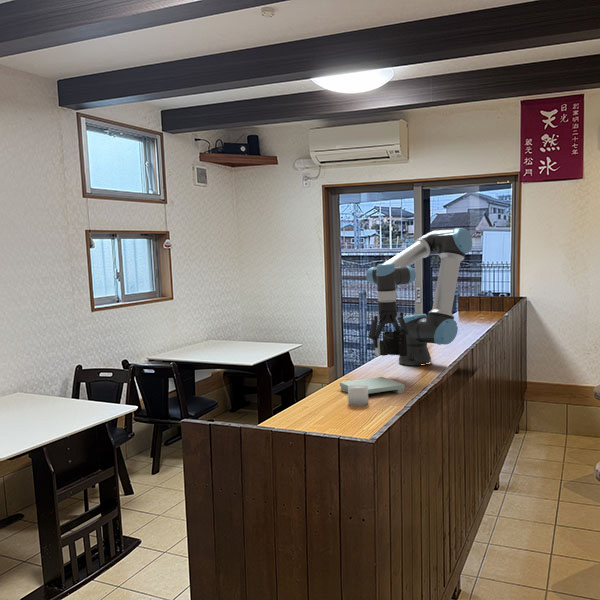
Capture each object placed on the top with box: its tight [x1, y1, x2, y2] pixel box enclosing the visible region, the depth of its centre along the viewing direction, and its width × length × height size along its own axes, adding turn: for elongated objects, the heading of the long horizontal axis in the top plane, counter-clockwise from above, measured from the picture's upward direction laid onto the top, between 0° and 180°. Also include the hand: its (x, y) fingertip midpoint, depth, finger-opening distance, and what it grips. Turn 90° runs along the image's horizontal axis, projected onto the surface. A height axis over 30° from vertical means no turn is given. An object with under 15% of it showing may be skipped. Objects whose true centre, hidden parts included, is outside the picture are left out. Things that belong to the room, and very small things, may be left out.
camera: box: [380, 329, 407, 357], centre depth 233 cm, size 14×11×10 cm
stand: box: [339, 376, 406, 395], centre depth 213 cm, size 19×16×3 cm
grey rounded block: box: [347, 384, 369, 407], centre depth 196 cm, size 7×7×6 cm
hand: (389, 353), depth 233 cm, fingers closed on camera, 10 cm apart
